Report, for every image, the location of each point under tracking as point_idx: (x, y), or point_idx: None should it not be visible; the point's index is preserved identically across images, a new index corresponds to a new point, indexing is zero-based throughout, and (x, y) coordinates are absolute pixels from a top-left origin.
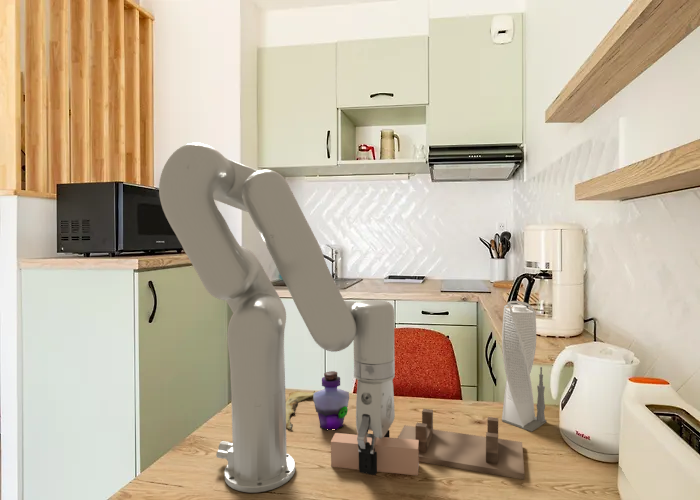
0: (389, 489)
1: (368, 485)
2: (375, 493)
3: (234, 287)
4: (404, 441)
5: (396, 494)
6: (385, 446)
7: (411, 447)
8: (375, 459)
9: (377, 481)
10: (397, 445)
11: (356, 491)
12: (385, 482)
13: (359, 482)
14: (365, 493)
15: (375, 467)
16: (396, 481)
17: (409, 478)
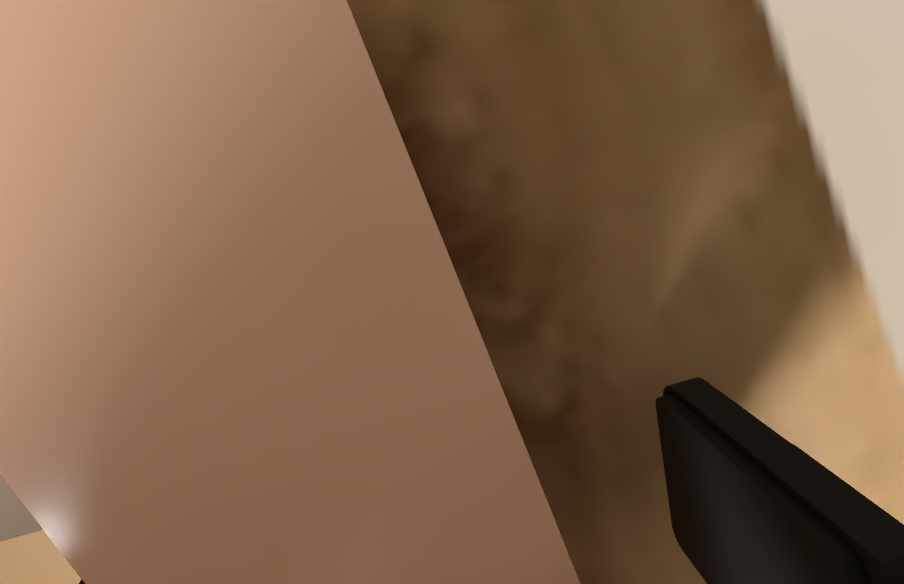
0: (735, 168)
1: (752, 367)
2: (839, 251)
3: None
4: (99, 351)
5: (785, 62)
6: (567, 560)
7: (273, 29)
8: (833, 483)
9: (661, 334)
10: (393, 393)
11: (865, 400)
12: (643, 262)
13: None
14: (867, 325)
15: (746, 421)
16: (576, 173)
17: (450, 68)
